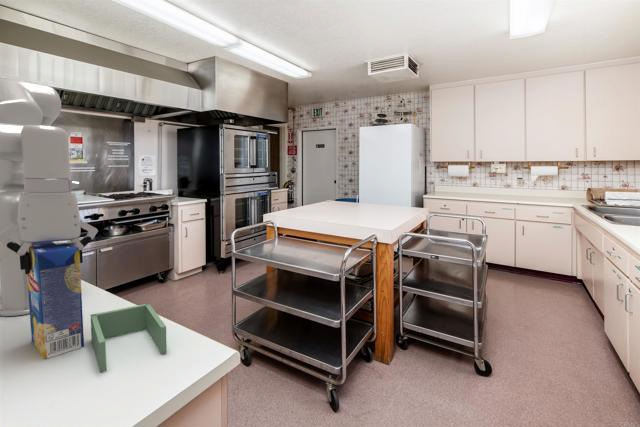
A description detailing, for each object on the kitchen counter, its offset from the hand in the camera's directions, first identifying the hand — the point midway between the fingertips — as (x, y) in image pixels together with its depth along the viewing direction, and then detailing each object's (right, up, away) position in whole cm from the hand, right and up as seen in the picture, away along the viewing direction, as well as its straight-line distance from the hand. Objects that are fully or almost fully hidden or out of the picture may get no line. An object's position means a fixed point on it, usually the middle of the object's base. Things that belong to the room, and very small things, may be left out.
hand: (53, 269), depth 72 cm
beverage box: (-1, -17, +2) cm, 17 cm away
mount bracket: (+15, -18, +2) cm, 23 cm away
